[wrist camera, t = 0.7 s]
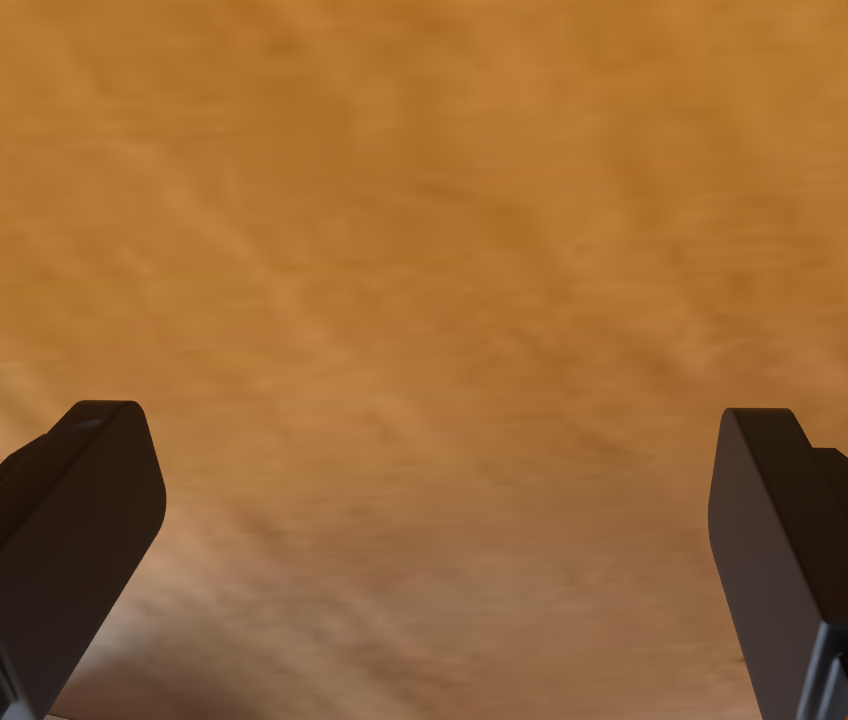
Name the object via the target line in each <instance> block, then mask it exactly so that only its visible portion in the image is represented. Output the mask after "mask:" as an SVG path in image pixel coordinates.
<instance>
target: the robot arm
mask: <svg viewBox="0 0 848 720" xmlns="http://www.w3.org/2000/svg"><path fill="white" fill-rule="evenodd" d="M165 511H166V489H165V484H164V481H163V477H162V474H161V470H160V467H159V463H158V460H157V456H156V452H155V449H154V445H153V442H152V438H151V435H150V431H149V427H148V424H147V420H146V417H145V414H144V411H143V410H142V408H141V406H140V405H139V404H138V403H137V402H135V401H115V400H83V401H79V402H77V403H76V404H75V405H74V406H73V407H72V408H71V409H70V410H69V411H68V412H67V413H66V414H65V415H64V416H63V417H62V418H61V419H60V420H59V421H58V422H57V423H56V424H55V425H54V427H53V428H52V429H51V430H50V431H49V432H48V433H47V434H43V435H41V436H40V437H38V438H37V439H35V440H33V441H32V442H30V443H28V444H27V445H25V446H23V447H22V448H20V449H19V450H17V451H15V452H14V453H12V454H10V455H9V456H8V457H7V458H6V459H5V460H4V461H3V462H2V463H1V464H0V720H44V718H45V716H46V715H47V713H48V711H49V710H50V708H51V707H52V705H53V703H54V702H55V700H56V698H57V697H58V695H59V694H60V692H61V690H62V689H63V687H64V685H65V684H66V682H67V680H68V679H69V677H70V676H71V674H72V672H73V671H74V669H75V667H76V666H77V664H78V663H79V661H80V659H81V658H82V656H83V654H84V653H85V651H86V649H87V648H88V646H89V645H90V643H91V641H92V640H93V638H94V636H95V635H96V633H97V632H98V630H99V628H100V627H101V625H102V623H103V622H104V620H105V618H106V617H107V615H108V614H109V612H110V610H111V609H112V607H113V605H114V604H115V602H116V601H117V599H118V597H119V596H120V594H121V592H122V591H123V589H124V587H125V586H126V584H127V583H128V581H129V579H130V578H131V576H132V574H133V573H134V571H135V570H136V568H137V566H138V565H139V563H140V561H141V560H142V558H143V556H144V555H145V553H146V552H147V550H148V548H149V547H150V545H151V543H152V542H153V540H154V539H155V537H156V535H157V534H158V532H159V530H160V528H161V526H162V523H163V520H164V516H165ZM708 529H709V538H710V544H711V549H712V553H713V556H714V559H715V563H716V566H717V569H718V573H719V576H720V579H721V583H722V586H723V589H724V593H725V596H726V599H727V602H728V606H729V609H730V612H731V616H732V619H733V622H734V626H735V629H736V632H737V636H738V639H739V642H740V646H741V649H742V652H743V656H744V659H745V662H746V666H747V669H748V672H749V676H750V679H751V682H752V686H753V689H754V692H755V696H756V699H757V702H758V705H759V709H760V712H761V715H762V719H763V720H848V458H847V457H846V456H845V455H844V454H842V453H841V452H840V451H838V450H837V449H836V448H812V446H811V444H810V443H809V441H808V439H807V437H806V435H805V434H804V432H803V430H802V428H801V426H800V425H799V423H798V421H797V419H796V417H795V416H794V414H793V412H792V411H791V410H790V409H787V408H727V409H725V411H724V413H723V415H722V419H721V423H720V429H719V436H718V443H717V450H716V456H715V463H714V470H713V477H712V483H711V490H710V497H709V505H708Z"/></svg>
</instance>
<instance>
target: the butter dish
mask: <svg viewBox="0 0 848 720" xmlns="http://www.w3.org/2000/svg"><path fill="white" fill-rule="evenodd" d="M44 720H69V719H65V718H60V717H56V716H52V715H46V716H45V718H44Z"/></svg>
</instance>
